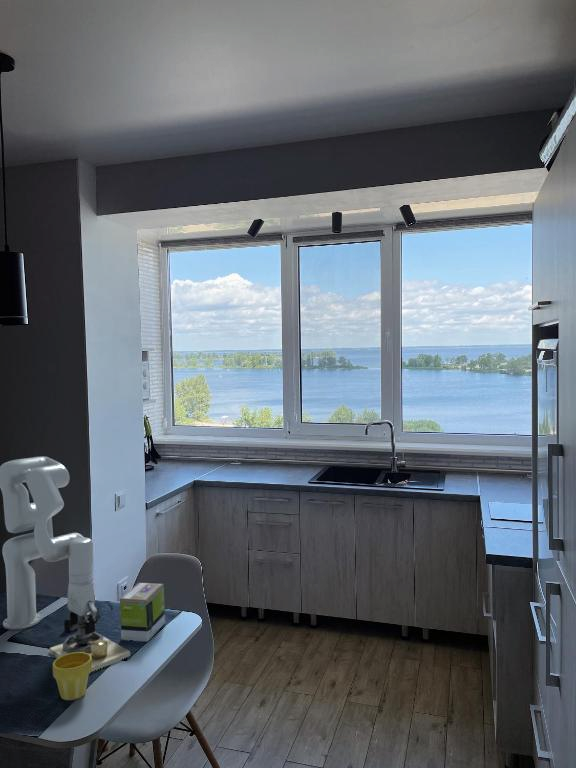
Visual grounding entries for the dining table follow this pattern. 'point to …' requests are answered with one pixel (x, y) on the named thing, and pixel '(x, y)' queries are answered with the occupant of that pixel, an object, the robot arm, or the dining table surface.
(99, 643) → the brass post
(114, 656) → the birch board
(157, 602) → the tea box
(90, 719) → the dining table surface
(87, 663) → the plant pot
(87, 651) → the ring holder
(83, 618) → the grey knobbed cylinder
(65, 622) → the mobile phone
